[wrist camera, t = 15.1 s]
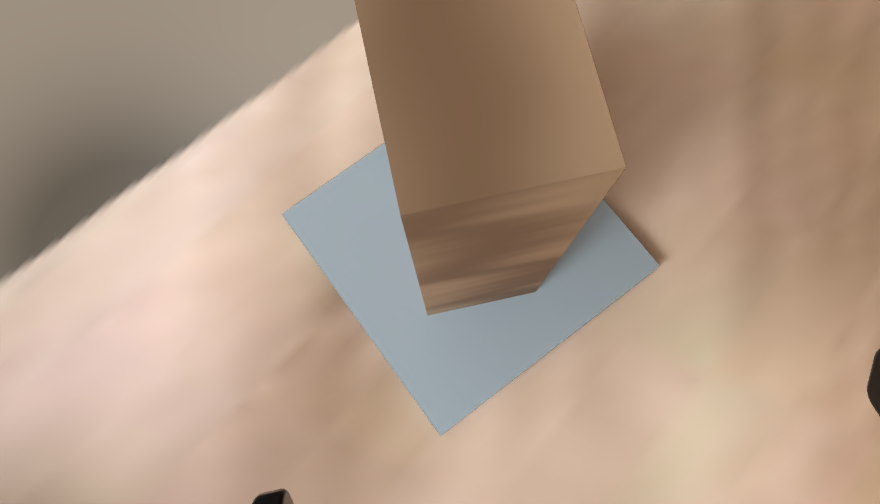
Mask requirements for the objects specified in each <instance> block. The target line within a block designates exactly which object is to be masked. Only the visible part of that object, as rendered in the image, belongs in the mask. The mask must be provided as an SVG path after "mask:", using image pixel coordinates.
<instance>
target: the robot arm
mask: <svg viewBox="0 0 880 504" xmlns="http://www.w3.org/2000/svg"><path fill="white" fill-rule="evenodd" d="M867 393H868V397H869V399H870V402H871V404H872V405H873V407H874V408H875V410H876V411H877V413H878V414H879V416H880V349H879V350H878V351H877V352H876V354H875V356H874V360H873V364H872V368H871V372H870V376H869V380H868V384H867ZM252 504H294V503H293V501H292V499H291V496H290V494H289V493H288V491H287V490H285V489H278V490H274V491H269V492H265V493H262V494H259V495H258V496H257V497H256V498H255V499H254V501H253V503H252Z"/></svg>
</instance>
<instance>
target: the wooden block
mask: <svg viewBox="0 0 880 504" xmlns="http://www.w3.org/2000/svg"><path fill="white" fill-rule="evenodd" d="M355 4H356V9H357V14H358V19H359V23H360V28H361V33H362V37H363V42H364V47H365V52H366V56H367V61H368V66H369V70H370V75H371V80H372V84H373V89H374V94H375V99H376V103H377V108H378V113H379V117H380V122H381V127H382V131H383V136H384V141H385V146H386V150H387V155H388V160H389V164H390V169H391V174H392V178H393V183H394V188H395V192H396V197H397V202H398V207H399V211H400V216H401V220H402V223H403V227H404V231H405V234H406V238H407V242H408V245H409V249H410V253H411V257H412V260H413V264H414V268H415V271H416V275H417V279H418V282H419V286H420V290H421V293H422V297H423V301H424V304H425V308H426V312H427V316H429V315H433V314H438V313H442V312H447V311H451V310H456V309H461V308H465V307H470V306H474V305H479V304H483V303H488V302H492V301H497V300H501V299H506V298H511V297H515V296H520V295H524V294H529V293H533V292H536V290H537V289H538V288H539V286H540V285H541V284H542V282H543V281H544V279H545V278H546V277H547V275H548V274H549V273H550V271H551V270H552V268H553V267H554V266H555V264H556V263H557V262H558V260H559V259H560V257H561V256H562V255H563V253H564V252H565V251H566V249H567V248H568V246H569V245H570V244H571V242H572V241H573V240H574V238H575V237H576V235H577V234H578V233H579V231H580V230H581V229H582V227H583V226H584V224H585V223H586V222H587V220H588V219H589V218H590V216H591V215H592V213H593V212H594V211H595V209H596V208H597V207H598V205H599V204H600V202H601V201H602V200H603V198H604V197H605V196H606V194H607V193H608V191H609V190H610V189H611V187H612V186H613V185H614V183H615V182H616V180H617V179H618V178H619V176H620V175H621V174H622V172H623V171H624V169H625V168H626V165H625V162H624V159H623V156H622V152H621V149H620V146H619V142H618V139H617V136H616V133H615V129H614V126H613V123H612V120H611V116H610V113H609V110H608V107H607V103H606V100H605V97H604V93H603V90H602V87H601V84H600V80H599V77H598V74H597V71H596V67H595V64H594V61H593V57H592V54H591V51H590V48H589V44H588V41H587V38H586V35H585V31H584V28H583V25H582V22H581V18H580V15H579V12H578V8H577V5H576V2H575V0H355Z"/></svg>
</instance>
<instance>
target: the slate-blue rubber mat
mask: <svg viewBox="0 0 880 504" xmlns="http://www.w3.org/2000/svg"><path fill="white" fill-rule="evenodd" d="M282 215H283V217H284V218H285V219H286V221H287V222H288V224H289V225H290V226H291V228H292V229H293V231H294V232H295V233H296V235H297V236H298V238H299V239H300V240H301V242H302V243H303V245H304V246H305V247H306V249H307V250H308V252H309V253H310V254H311V256H312V257H313V259H314V260H315V261H316V263H317V264H318V266H319V267H320V268H321V270H322V271H323V273H324V274H325V275H326V277H327V278H328V280H329V281H330V282H331V284H332V285H333V287H334V288H335V289H336V291H337V292H338V294H339V295H340V296H341V298H342V299H343V301H344V302H345V303H346V305H347V306H348V307H349V309H350V310H351V312H352V313H353V314H354V316H355V317H356V319H357V320H358V321H359V323H360V324H361V326H362V327H363V328H364V330H365V331H366V333H367V334H368V335H369V337H370V338H371V340H372V341H373V342H374V344H375V345H376V347H377V348H378V349H379V351H380V352H381V354H382V355H383V356H384V358H385V359H386V361H387V362H388V363H389V365H390V366H391V368H392V369H393V370H394V372H395V373H396V375H397V376H398V377H399V379H400V380H401V382H402V383H403V384H404V386H405V387H406V388H407V390H408V391H409V393H410V394H411V395H412V397H413V398H414V400H415V401H416V402H417V404H418V405H419V407H420V408H421V409H422V411H423V412H424V414H425V415H426V416H427V418H428V419H429V421H430V422H431V423H432V425H433V426H434V428H435V429H436V430H437V432H438V433H439V435H440V436H441V435H442V434H443V433H445V432H446V431H447V430H449V429H450V428H451V427H452V426H454V425H455V424H456V423H458V422H459V421H460V420H461V419H463V418H464V417H465V416H467V415H468V414H469V413H471V412H472V411H473V410H474V409H476V408H477V407H478V406H480V405H481V404H482V403H483V402H485V401H486V400H487V399H489V398H490V397H491V396H493V395H494V394H495V393H496V392H498V391H499V390H500V389H502V388H503V387H504V386H505V385H507V384H508V383H509V382H511V381H512V380H513V379H515V378H516V377H517V376H518V375H520V374H521V373H522V372H524V371H525V370H526V369H527V368H529V367H530V366H531V365H533V364H534V363H535V362H537V361H538V360H539V359H540V358H542V357H543V356H544V355H546V354H547V353H548V352H549V351H551V350H552V349H553V348H555V347H556V346H557V345H559V344H560V343H561V342H562V341H564V340H565V339H566V338H568V337H569V336H570V335H571V334H573V333H574V332H575V331H577V330H578V329H579V328H581V327H582V326H583V325H584V324H586V323H587V322H588V321H590V320H591V319H592V318H593V317H595V316H596V315H597V314H599V313H600V312H601V311H602V310H604V309H605V308H606V307H608V306H609V305H610V304H612V303H613V302H614V301H615V300H617V299H618V298H619V297H621V296H622V295H623V294H624V293H626V292H627V291H628V290H630V289H631V288H632V287H634V286H635V285H636V284H637V283H639V282H640V281H641V280H643V279H644V278H645V277H646V276H648V275H649V274H650V273H652V272H653V271H654V270H656V269H657V268H658V267H659V266H660V265H659V264H658V263H657V262H656V261H655V259H654V258H653V257H652V256H651V255H650V254H649V252H648V251H647V250H646V249H645V248H644V247H643V245H642V244H641V243H640V242H639V241H638V239H637V238H636V237H635V236H634V235H633V234H632V232H631V231H630V230H629V229H628V228H627V227H626V225H625V224H624V223H623V222H622V221H621V219H620V218H619V217H618V216H617V215H616V214H615V212H614V211H613V210H612V209H611V208H610V207H609V205H608V204H607V203H606V202H605V201H604V200H602V201H601V202H600V204H599V205H598V207H597V208H596V209H595V211H594V212H593V213H592V215H591V216H590V218H589V219H588V220H587V222H586V223H585V224H584V226H583V227H582V229H581V230H580V231H579V233H578V234H577V235H576V237H575V238H574V240H573V241H572V242H571V244H570V245H569V246H568V248H567V249H566V251H565V252H564V253H563V255H562V256H561V257H560V259H559V260H558V262H557V263H556V264H555V266H554V267H553V268H552V270H551V271H550V273H549V274H548V275H547V277H546V278H545V279H544V281H543V282H542V284H541V285H540V286H539V288H538V289H537V290H536V292H533V293H529V294H524V295H520V296H515V297H511V298H506V299H501V300H497V301H492V302H488V303H483V304H479V305H474V306H470V307H465V308H461V309H456V310H451V311H447V312H442V313H438V314H433V315H429V316H427V312H426V308H425V304H424V301H423V297H422V293H421V290H420V286H419V282H418V279H417V275H416V271H415V268H414V264H413V260H412V257H411V253H410V249H409V245H408V242H407V238H406V234H405V231H404V227H403V223H402V220H401V216H400V211H399V207H398V202H397V197H396V192H395V188H394V183H393V178H392V174H391V169H390V164H389V160H388V155H387V150H386V146H385V143H384V144H382V145H381V146H380V147H378V148H377V149H375V150H374V151H372V152H371V153H369V154H368V155H367V156H365V157H364V158H362V159H361V160H359V161H358V162H356V163H355V164H354V165H352V166H351V167H349V168H348V169H346V170H345V171H343V172H342V173H341V174H339V175H338V176H336V177H335V178H333V179H332V180H330V181H329V182H328V183H326V184H325V185H323V186H322V187H320V188H319V189H317V190H316V191H315V192H313V193H312V194H310V195H309V196H307V197H306V198H304V199H303V200H302V201H300V202H299V203H297V204H296V205H294V206H293V207H291V208H290V209H289V210H287V211H286V212H284V213H283V214H282Z"/></svg>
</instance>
